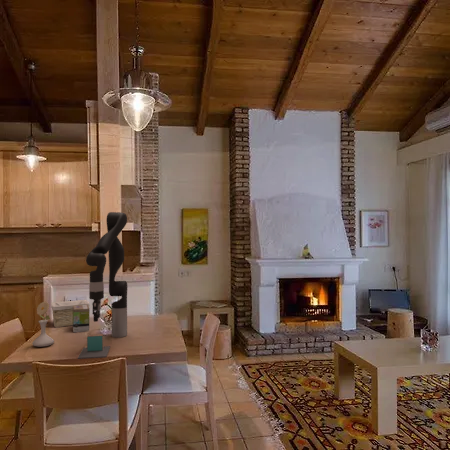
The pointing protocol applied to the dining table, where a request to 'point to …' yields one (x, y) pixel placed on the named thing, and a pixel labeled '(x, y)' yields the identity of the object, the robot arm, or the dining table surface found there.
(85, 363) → the dining table surface
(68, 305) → the storage basket
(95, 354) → the mat
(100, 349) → the tile
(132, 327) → the dining table surface
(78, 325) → the tea box
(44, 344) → the flower in vase
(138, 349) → the dining table surface
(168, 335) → the dining table surface
